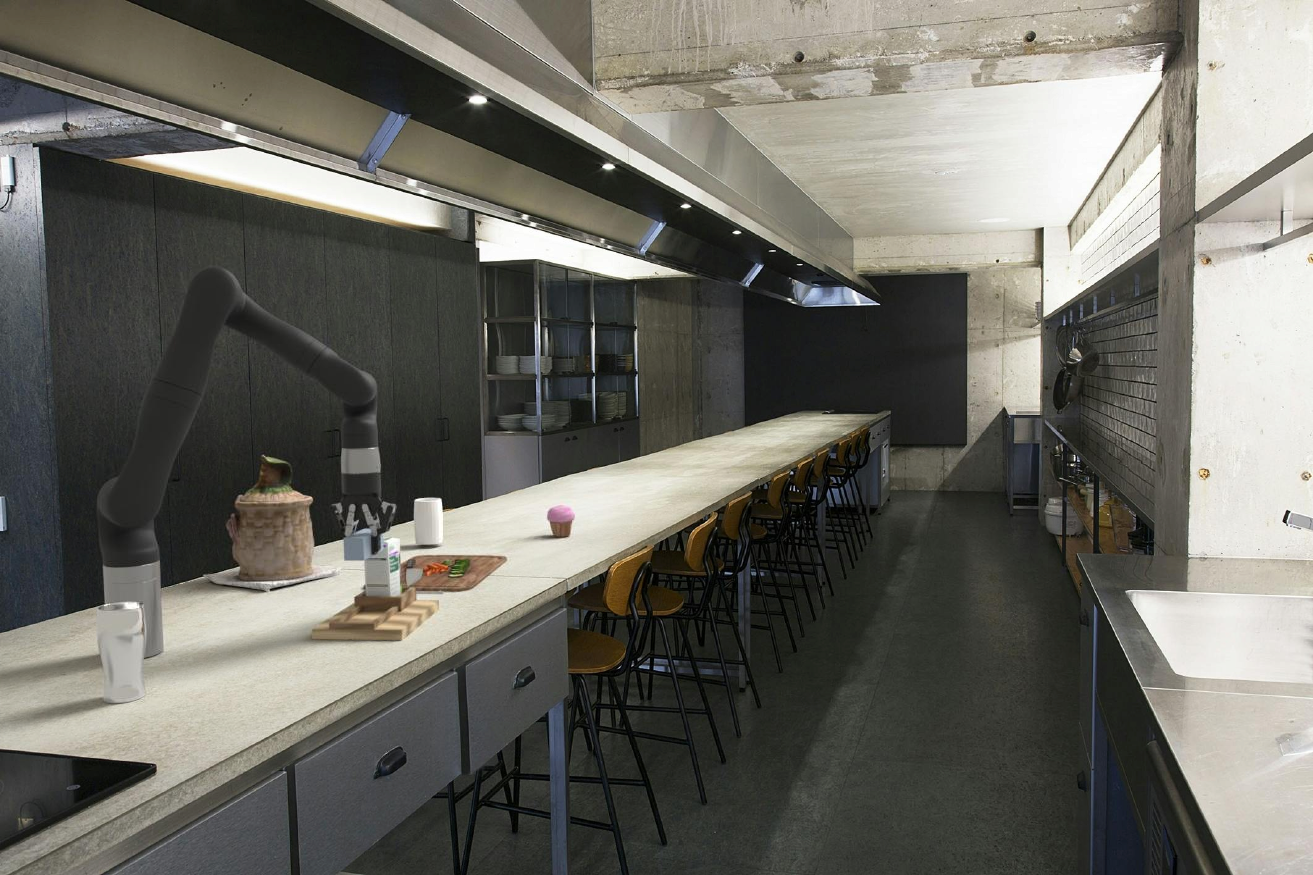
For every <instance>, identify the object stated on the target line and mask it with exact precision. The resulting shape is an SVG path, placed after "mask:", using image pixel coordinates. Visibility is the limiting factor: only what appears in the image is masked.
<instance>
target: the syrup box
mask: <svg viewBox="0 0 1313 875" xmlns="http://www.w3.org/2000/svg"><path fill="white" fill-rule="evenodd" d="M400 540H401V539H400V537H396V536H395V537H393V536H383V547H384V550H383V551H381V552H379V553H378V554H376V555H374V556H372V557H370V558H368V559H366V560H364V562H363V563H364V564H363V565H364V580H365V581H364V582H365V584H364V585H365V586H366V596H399V595H400V594H402V581H401V564H402V563H401V544H400V543H401V542H400Z"/></svg>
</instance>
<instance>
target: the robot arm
mask: <svg viewBox="0 0 1313 875" xmlns="http://www.w3.org/2000/svg"><path fill="white" fill-rule="evenodd" d="M181 307H182V308H181V310H180V315H179V318H178V321H177V324H176V327H175V329H174V332H173V334H172V336H171V338H170V340H169V342H168V343H167V346H166V347H165V349H164V350H163V354H162V356H161V357H160V360H159V362H158V364H157V366H156V369H155V371H154V373H153V375H152V376H151V379H150V381H149V384H148V386H147V388H146V390H145V393H144V395H143V399H142V401H141V405H140V409H139V413H138V418H137V424H136V431H135V436H134V437H135V438H134V442H133V446H132V449H131V452H130V454H129V456H128V459H127V460H126V462H125V465H124V467H123V468H122V471H120V472H121V473H120V474H119V476H116V477H113V478H111V479H109V480H107V481H106V482H105V483H104V484H103V486H101V488H100V490H99V491H98V494H97V499H96V512H97V513H96V514H97V515H96V517H97V528H98V541H99V542H98V544H99V548H100V551H101V556H102V572H103V573H102V574H103V591H104V605H105V604H109V603H115V602H123V601H139V602H143V603H144V612H145V619H146V646H145V653H144V659H146V658H151V657H153V656H156V655H158V654H161V653H163V652H164V649H165V648H164V627H163V605H162V588H161V587H162V586H161V585H162V584H161V583H162V582H161V562H160V557H161V556H160V547H159V544H158V541H157V538H156V534H155V524H154V519H155V518H156V516H157V515H158V513H159V511H160V510H161V507H162V503H163V500H164V496H165V492H166V488H167V485H168V482H169V478H170V475H171V472H172V468H173V465H174V463H175V459H176V458H177V455H178V453H179V451H180V449H181V447H182V445H183V443H184V441H185V440H186V439H185V438H186V437H187V434H188V432H189V430H190V428H191V426H192V423H193V420H194V419H195V416H196V414H197V412H198V409H199V407H200V404H201V402H202V400H203V397H204V395H205V392H206V389H207V385H208V382H209V377H210V373H211V368H212V361H213V356H214V350H215V346H216V343H217V340H218V338H219V335H220V334H221V331H222V330H223V327H228V328H230V329H232V330H233V331H236V332H238V333H240V334H242V335H244V336H245V337H248V338H249V339H251V340H252V341H254V342H256V343H258V345H261V346H262V347H264V348H265V349H266V350H268V351H269V352H271V353H272V354H273V355H275V356H277V357H278V358H279V359H281V360H282V361H284V362H285V363H287V364H288V365H290V366H291V367H293V368H294V369H295V370H297V371H299V372H300V373H301V374H303V375H305V377H306V376H307V377H308V378H310V379H312V380H314V381H315V382H317V383H318V384H320V385H321V386H322V387H323V388H324V389H326V390H327V391H328V392H330V393H331V394H333V395H334V396H335V397H336V398H338V399H339V400H341V402H342V410H343V413H342V414H343V415H342V416H343V419H342V422H341V427H340V428H341V429H340V430H341V432H340V433H341V436H340V437H341V454H340V455H341V457H340V470H341V493H342V498H341V500H340V502H338V503H333V504H330V505H328V506H327V510H328V513H329V516H330V519H331V522H332V524H333V527H334V529H335V532H336V533H337V534H341V535H343V536H345V537H347V536H349V535H351V534H354V533H356V532H357V530H356V529H357V525H358V524H359V520H362V521H366V523H367V526H368V527H369V529H370V530H371V534H372V537H371V552H372V555H376V554H378V551H380V550H381V534H383V535H384V534H385V533H387V532H389V531H390V530H391V527H392V523H393V520H394V517H395V515H396V512H397V511H396V510H397V507H398V506H397V504H396V503H389V502H387V501H384V499H383V497H382V481H381V480H382V479H381V478H382V477H381V469H382V466H381V465H382V464H381V457H380V456H381V455H380V450H379V435H378V434H379V433H378V424H377V417H378V415H377V414H378V397H379V396H378V384H377V381H376V379H375V378H374V377H373V375H372V374H370V373H368V372H367V371H363V370H361V369H359V368H357V367H356V366H354V365H352V363H349V362H348V361H346V360H344V359H343V358H342V357H340V356H339V355H338V354H337V353H336V352H335V351H334V350H333V349H331V348H330V347H328V346H327V345H325V344H324V343H322V342H321V341H320V340H318V339H316V338H315V337H314V336H311V335H310V334H309V333H307V332H305V331H303V330H301V329H300V328H297V327H296V326H293V325H292V324H289V323H287V322H286V321H284V320H282V319H280V318H278V317H276V316H274V315H272V314H271V313H270V312H268V311H266V309H264V308H262V307H261V306H260V305H258V304H257V302H255V301H254V300H253V299H251V297H250V296H248V294H246V293H245V292H244V291H243V289H242V287H241V284H240V282H239V280H238V278H236V277H235V275H234V274H233V273H232V272H231V271H230V270H228V269H226V268H225V267H221V266H216V265H215V266H207V267H204V268H201V270H199V271H197V272H196V273H195V274H194V275H193V277H191V279H190V281H189V283H188V287H187V290H186V294H185V297H184V301H183V304H182V306H181ZM381 509H382V512H383V514H384V516H383V519H382V522H381V525H380V518H379V515H378V514H379V512H380V510H381ZM343 510H344V511H345V513H346V514H347V519H346V523H345V521H344V517H343V515H342V512H343Z"/></svg>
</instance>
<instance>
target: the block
mask: <svg viewBox="0 0 1313 875" xmlns="http://www.w3.org/2000/svg"><path fill="white" fill-rule="evenodd" d="M371 537H372V534H371V530H370V528H363V529H360V530H358V531H355V533H354V534H351V535H349V536H347V537H346V536H345V537H343V561H345V562H346V561H350V562H351V561H353V562H354V561H356V562H357V561H358V562H360V561H361V562H363V561H364V560H366V559H368V558H370V557H372V556H374V555H372V552H371ZM383 537H384V533H383V534H381V550H380V551H378V553H379V552H381V551H383V550H384V547H383Z"/></svg>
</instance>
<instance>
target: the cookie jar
mask: <svg viewBox="0 0 1313 875" xmlns="http://www.w3.org/2000/svg"><path fill="white" fill-rule="evenodd" d="M259 459H260V460H261V465H260V470H259V478H258V482H257V483H256V484H255V485H253V487H251V488H250V489H249V490H247V491H246V492H245V494H244V495H243V494H240V495H238V496H237V497H236V498H235V502H234V508H235V510H236V511H237V513H231V514H230V518H229V519H228V520H227V521H226V524H225V526H226V527H225V528H226V529H227V531H228V534H229V537H230V538H231V539H232V543H233V544H232V547H231V548H232V557H233V559H234V560H235V561H236V562H237V563H238V565H239V569H235V570H231V571H226V572H220V573H208V574H203V577H204V578H206V579H207V580H210V581H211V582H213V584H217V585H226V586H234V587H243V588H248V589H253V590H254V589H255V590H260V591H264V592H267V593H270V592H271V590H270V589H273V588H278V587H284V586H289V585H294V584H299V583H301V582H307V581H310V580H316V579H322V578H328V577H329V578H330V577H334V576H339V575H340V574H341V571H342V567H341V566H340V567H339V566H325V565H312V563H313V555H314V548H315V538H314V535H313V532H314V531H313V523H312V519H311V514H310V506H311V504H313V502H314V499H313V497H312V496H310V495H305V494H302V493H301V492H298V491H297V490H293V488H292V487H291V484H292V479H293V469H292V465H291V464H290V463H289V462H287V461H284V460H282V459H278V458H275V457H270V456H265V455H264V454H262V455H261V456H260V458H259Z"/></svg>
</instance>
